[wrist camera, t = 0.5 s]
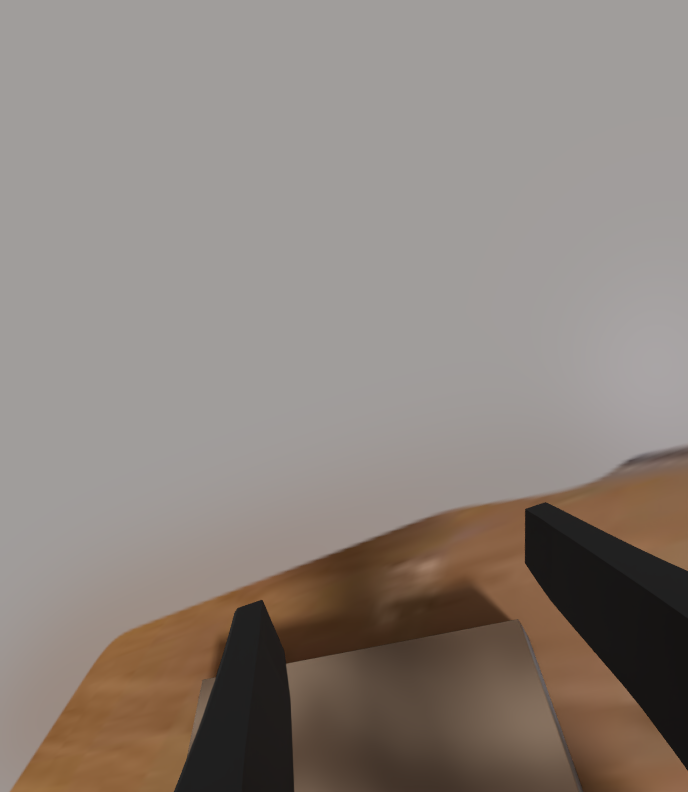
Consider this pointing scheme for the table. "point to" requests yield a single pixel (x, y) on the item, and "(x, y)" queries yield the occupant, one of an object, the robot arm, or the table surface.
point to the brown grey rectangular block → (426, 717)
